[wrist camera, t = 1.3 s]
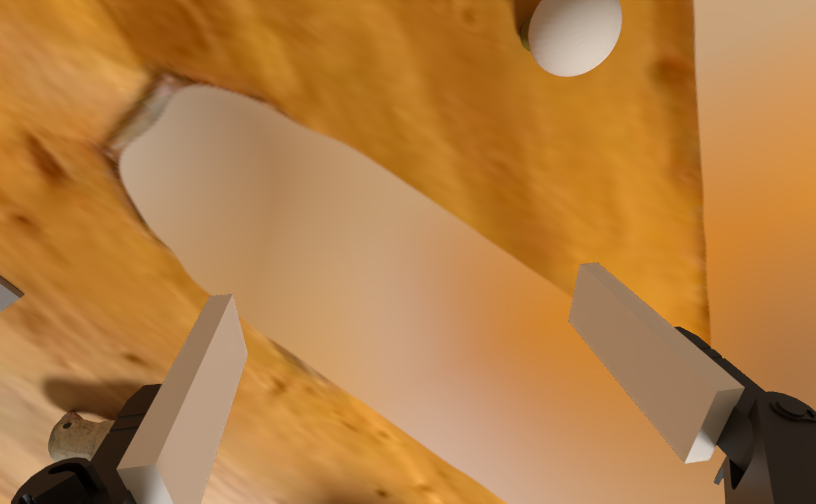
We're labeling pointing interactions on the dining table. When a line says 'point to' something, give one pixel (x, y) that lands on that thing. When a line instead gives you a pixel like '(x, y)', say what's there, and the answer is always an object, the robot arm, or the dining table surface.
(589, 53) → the light bulb
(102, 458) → the robot arm
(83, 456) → the decorative bird
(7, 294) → the square base green ring
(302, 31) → the dining table surface
